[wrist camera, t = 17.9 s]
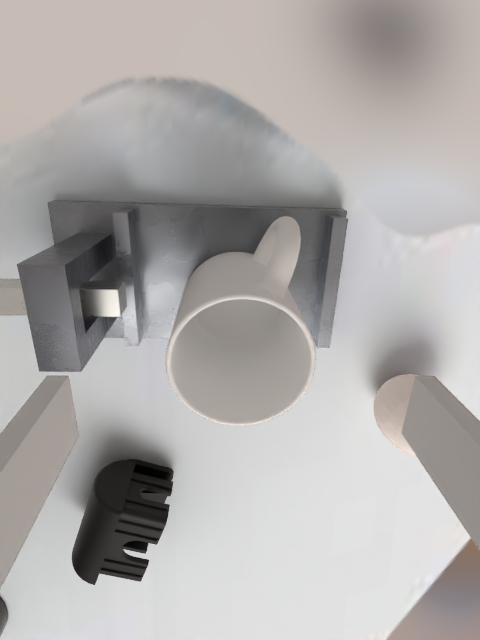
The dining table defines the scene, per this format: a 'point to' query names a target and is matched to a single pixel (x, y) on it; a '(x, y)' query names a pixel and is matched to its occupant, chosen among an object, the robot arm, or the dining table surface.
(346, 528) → the dining table surface
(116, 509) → the end cap
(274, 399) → the mug
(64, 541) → the dining table surface
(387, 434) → the egg
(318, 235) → the dock
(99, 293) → the lever
